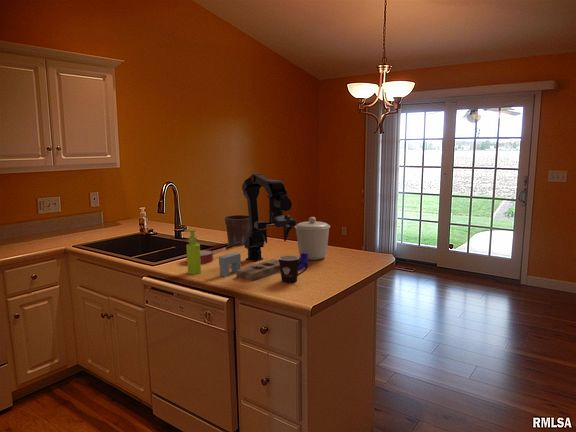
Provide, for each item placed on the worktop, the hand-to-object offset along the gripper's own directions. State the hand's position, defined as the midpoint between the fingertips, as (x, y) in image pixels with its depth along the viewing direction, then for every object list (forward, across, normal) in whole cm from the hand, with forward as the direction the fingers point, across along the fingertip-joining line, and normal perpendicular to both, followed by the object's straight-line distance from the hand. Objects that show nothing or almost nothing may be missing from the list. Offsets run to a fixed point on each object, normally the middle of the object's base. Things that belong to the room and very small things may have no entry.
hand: (275, 242), depth 199 cm
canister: (+14, +25, +12) cm, 31 cm away
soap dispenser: (+14, -36, +13) cm, 40 cm away
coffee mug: (+13, -1, -20) cm, 24 cm away
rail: (+13, -7, -2) cm, 15 cm away
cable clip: (+14, +10, -2) cm, 17 cm away
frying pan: (+14, -20, +37) cm, 44 cm away
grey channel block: (+13, -21, +4) cm, 25 cm away
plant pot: (+14, +2, +63) cm, 65 cm away
